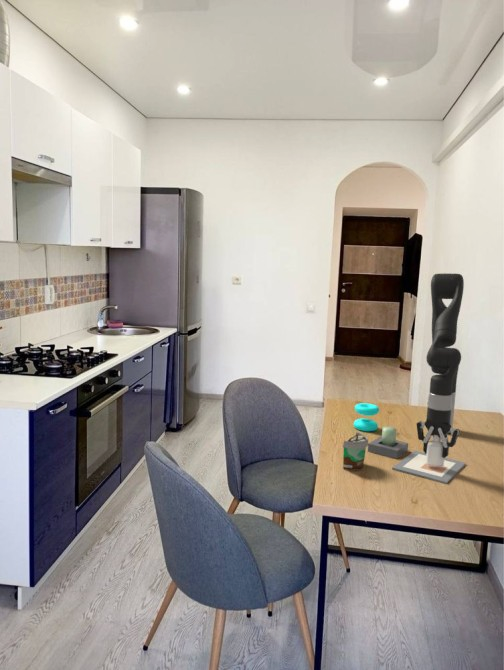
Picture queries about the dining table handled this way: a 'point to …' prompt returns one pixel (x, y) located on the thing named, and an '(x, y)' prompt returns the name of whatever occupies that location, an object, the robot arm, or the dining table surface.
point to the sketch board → (429, 467)
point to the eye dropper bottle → (435, 452)
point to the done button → (389, 436)
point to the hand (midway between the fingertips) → (435, 455)
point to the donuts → (368, 411)
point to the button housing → (388, 448)
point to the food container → (354, 452)
